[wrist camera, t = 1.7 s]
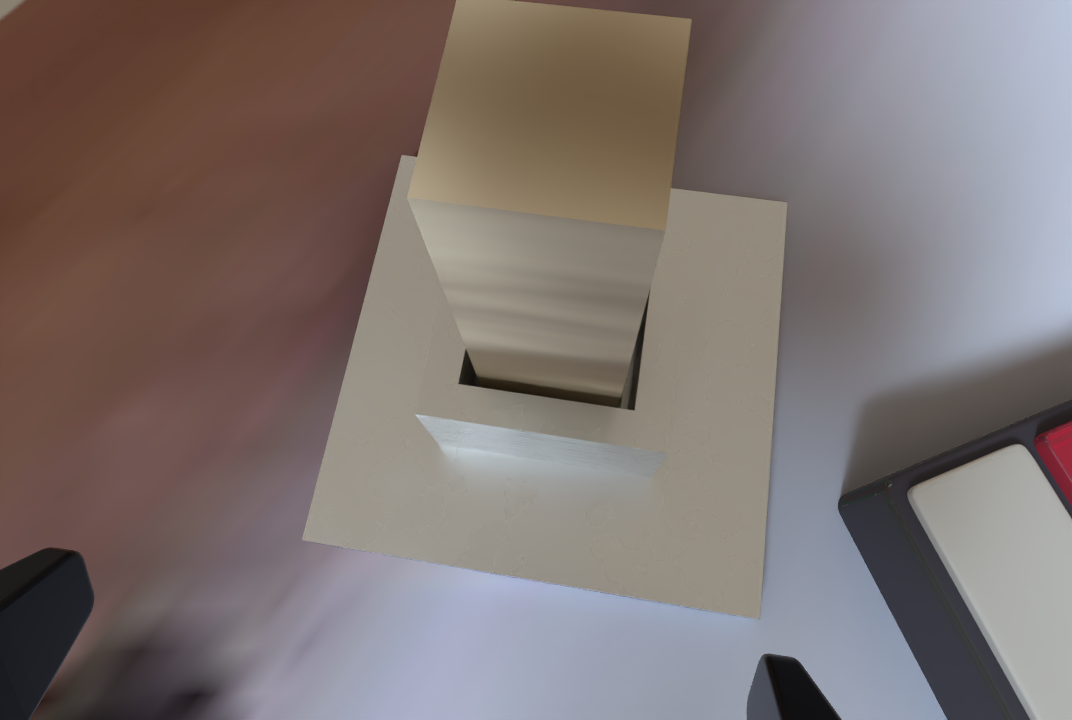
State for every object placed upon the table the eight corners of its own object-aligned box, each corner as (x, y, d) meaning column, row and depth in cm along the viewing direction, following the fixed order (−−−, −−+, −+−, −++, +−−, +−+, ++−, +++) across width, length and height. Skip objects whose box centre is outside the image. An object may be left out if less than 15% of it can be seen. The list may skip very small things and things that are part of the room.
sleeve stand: (751, 618, 22) (808, 622, 17) (312, 542, 23) (240, 525, 18) (779, 216, 26) (832, 122, 21) (407, 170, 28) (370, 70, 22)
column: (615, 430, 23) (671, 236, 11) (486, 410, 23) (398, 202, 11) (631, 309, 24) (698, 14, 12) (508, 292, 25) (452, -10, 12)
